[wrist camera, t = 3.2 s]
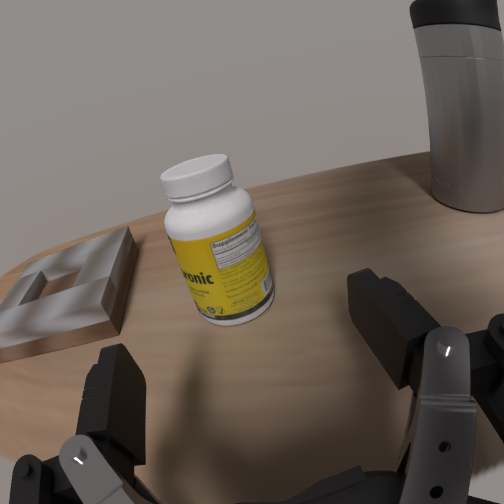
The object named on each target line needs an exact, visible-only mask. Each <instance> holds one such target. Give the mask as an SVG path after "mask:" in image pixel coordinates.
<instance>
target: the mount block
mask: <svg viewBox="0 0 504 504" xmlns="http://www.w3.org/2000/svg"><path fill="white" fill-rule="evenodd" d="M137 253H138V249H137V246H136V244H135V242H134V239H133V237H132V234H131V232H130V229H129V227H128V226H127V227H124V228H121V229H118V230H115V231H113V232H110V233H107V234H104V235H101V236H99V237H96V238H93V239H91V240H88V241H85V242H82V243H80V244H77V245H74V246H72V247H69V248H67V249H64V250H61V251H59V252H56V253H54V254H51V255H49V256H46V257H44V258H41V259H39V260H36V261H34V262H31V263H29V265H28V266H27V267H26V269H25V270H24V271H23V273H22V274H21V275H20V277H19V278H18V280H17V281H16V282H15V284H14V285H13V287H12V288H11V289H10V291H9V292H8V294H7V295H6V297H5V298H4V300H3V301H2V303H1V304H0V363H3V362H7V361H12V360H17V359H21V358H26V357H30V356H35V355H39V354H44V353H48V352H52V351H57V350H61V349H65V348H69V347H73V346H77V345H82V344H86V343H90V342H94V341H98V340H101V339H105V338H109V337H113V336H117V335H119V333H120V328H121V323H122V318H123V313H124V308H125V304H126V299H127V294H128V290H129V286H130V281H131V277H132V273H133V269H134V265H135V261H136V257H137Z"/></svg>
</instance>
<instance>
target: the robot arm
mask: <svg viewBox="0 0 504 504" xmlns="http://www.w3.org/2000/svg"><path fill="white" fill-rule="evenodd" d="M410 16H411V20H412V24H413V28H414V33H415V38H416V42H417V47H418V52H419V57H420V63H421V68H422V75H423V81H424V88H425V95H426V104H427V113H428V122H429V135H430V151H431V175H432V194H433V196H434V197H435V198H436V199H437V200H438V201H440V202H442V203H443V204H446V205H448V206H450V207H453V208H456V209H460V210H465V211H471V212H494V211H499V210H501V209H504V43H503V37H502V33H501V27H500V23H499V17H498V7H497V0H415V1H414V2H413V3H412V4H411V6H410ZM347 286H348V303H349V313H350V316H351V319H352V321H353V323H354V325H355V327H356V328H357V330H358V331H359V332H360V334H361V335H362V337H363V338H364V340H365V341H366V342H367V344H368V345H369V347H370V348H371V350H372V351H373V353H374V354H375V356H376V357H377V358H378V360H379V361H380V363H381V364H382V366H383V367H384V369H385V370H386V372H387V373H388V375H389V376H390V378H391V379H392V381H393V382H394V384H395V385H396V387H397V388H398V390H400V389H402V388H404V387H406V386H408V385H409V386H410V387H411V389H412V390H413V393H412V398H411V404H410V410H409V416H408V421H407V426H406V431H405V436H404V441H403V445H402V448H401V452H400V455H399V458H398V462H397V466H396V469H395V472H393V471H368V472H363V471H362V469H361V467H360V465H359V466H357V467H355V468H352V469H350V470H347V471H345V472H342V473H340V474H337V475H334V476H332V477H329V478H326V479H323V480H321V481H320V482H318V483H316V484H315V485H313V486H312V487H310V488H308V489H306V490H305V491H303V492H301V493H299V494H298V495H296V496H294V497H292V498H291V499H289V500H286V501H282V502H242V503H237V504H499V503H495V502H491V501H487V500H483V499H480V498H476V497H472V496H469V495H468V491H469V485H470V479H471V472H472V464H473V455H474V444H475V431H476V403H475V401H471V399H470V396H473V397H474V398H475V400H476V401H477V403H478V404H479V406H480V407H481V409H482V410H483V412H484V413H485V415H486V416H487V418H488V419H489V421H490V422H491V424H492V425H493V427H494V429H495V430H496V432H497V433H498V435H499V436H500V438H501V440H502V441H503V443H504V314H498V315H496V316H494V317H493V318H492V319H491V320H490V322H489V325H488V328H487V329H486V330H482V331H478V332H473V333H469V334H464V333H463V332H462V331H460V330H459V329H456V328H454V327H448V326H443V327H442V326H440V325H439V324H438V322H437V321H436V320H435V319H434V318H433V317H432V316H431V315H430V314H429V313H428V312H427V311H426V310H425V309H424V308H423V307H422V306H421V305H420V304H419V303H418V302H417V301H416V300H414V298H413V297H412V296H411V295H410V294H409V293H407V291H406V290H405V289H404V288H403V287H402V286H401V285H400V284H399V283H398V282H396V281H394V280H391V279H389V278H387V277H384V278H381V279H379V278H378V276H377V275H376V274H375V273H374V272H373V271H372V270H371V269H369V268H366V269H363V270H361V271H358V272H355V273H352V274H349V275H348V277H347ZM84 389H85V390H84V391H83V396H82V398H83V400H82V401H81V406H80V412H79V417H78V423H77V429H76V435H75V436H73V437H71V438H69V439H68V440H67V441H66V442H65V443H64V444H63V445H62V447H61V449H60V453H59V455H58V456H56V457H53V458H51V459H48V460H46V461H43V462H42V461H41V460H40V459H38V458H37V457H36V456H34V455H30V454H28V455H24V456H22V457H21V458H20V459H19V460H18V461H17V462H16V464H15V466H14V469H13V475H12V482H11V490H10V500H9V504H162V503H161V502H160V501H159V500H158V499H157V498H156V497H155V495H154V494H153V493H152V492H151V491H150V490H149V489H148V488H147V487H146V486H145V485H144V484H143V482H142V481H141V480H140V479H139V478H138V477H137V476H136V475H135V474H134V466H137V465H146V454H145V418H146V382H145V378H144V375H143V373H142V371H141V370H140V368H139V367H138V365H137V364H136V362H135V361H134V359H133V358H132V356H131V355H130V353H129V352H128V350H127V349H126V347H125V346H124V345H123V344H121V343H120V344H116V345H112V346H108V347H104V348H102V349H101V351H100V355H99V360H98V364H94V365H93V366H92V368H91V370H90V371H89V373H88V375H87V377H86V381H85V386H84Z"/></svg>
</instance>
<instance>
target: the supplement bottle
mask: <svg viewBox="0 0 504 504" xmlns="http://www.w3.org/2000/svg"><path fill="white" fill-rule="evenodd" d="M160 180H161V183H162V186H163V189H164V192H165V195H166V196H167V199H168V201H170V202H173V206H172V207H171V208H170V209H169V210H168V212H167V214H166V217H165V229H166V232H167V235H168V238H169V240H170V242H171V245H172V247H173V250H174V252H175V255H176V257H177V260H178V262H179V265H180V267H181V270H182V272H183V275H184V277H185V280H186V282H187V284H188V287H189V289H190V292H191V294H192V296H193V299H194V301H195V304H196V306H197V308H198V310H199V312H200V314H201V315H202V317H203V318H204V319H206V320H207V321H209V322H211V323H213V324H216V325H221V326H233V325H239V324H242V323H245V322H248V321H250V320H252V319H254V318H256V317H257V316H259V315H260V314H262V313H263V312H264V311H265V310H266V309H267V308H268V307H269V305H270V304H271V302H272V300H273V297H274V287H273V282H272V278H271V273H270V269H269V265H268V261H267V257H266V253H265V249H264V245H263V241H262V237H261V233H260V229H259V225H258V221H257V217H256V213H255V209H254V205H253V202H252V199H251V196H250V195H249V194H248V193H247V192H246V191H245V190H243V189H242V188H239V187H235V186H232V184H231V183H232V182H233V180H234V177H233V173H232V169H231V166H230V162H229V158H228V156H226V155H224V154H214V155H207V156H202V157H198V158H194V159H191V160H188V161H185V162H183V163H180V164H178V165H176V166H174V167H172V168H170V169H168V170H166V171H165V172H164V173H163V174H162V175H161V176H160Z"/></svg>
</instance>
